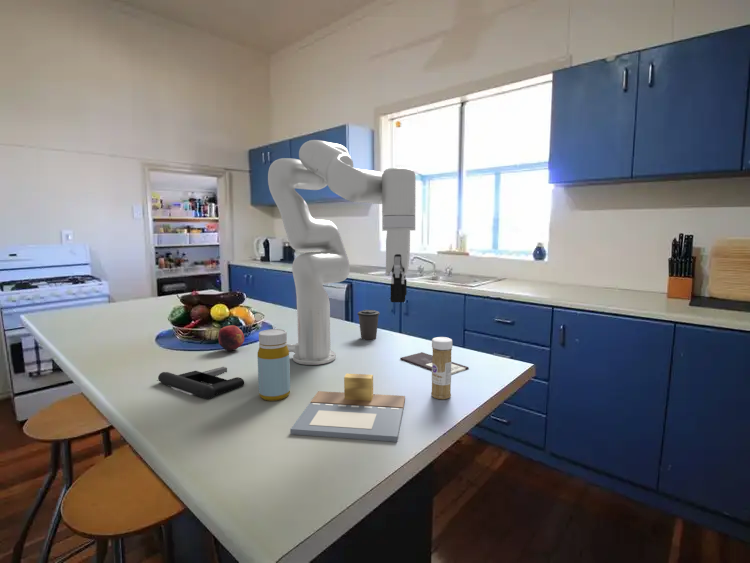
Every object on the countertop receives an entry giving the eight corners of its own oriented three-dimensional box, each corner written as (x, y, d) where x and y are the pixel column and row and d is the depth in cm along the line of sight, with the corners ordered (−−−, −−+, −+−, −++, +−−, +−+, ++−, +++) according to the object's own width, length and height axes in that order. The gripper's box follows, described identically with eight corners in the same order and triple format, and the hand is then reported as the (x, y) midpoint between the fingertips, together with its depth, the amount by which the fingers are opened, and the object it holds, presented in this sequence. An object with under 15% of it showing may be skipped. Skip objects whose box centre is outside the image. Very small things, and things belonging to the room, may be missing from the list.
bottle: (274, 404, 90) (272, 337, 88) (252, 397, 94) (250, 333, 92) (296, 393, 96) (294, 330, 94) (275, 387, 100) (273, 327, 98)
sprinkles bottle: (427, 396, 94) (427, 338, 93) (439, 390, 97) (440, 335, 96) (443, 401, 91) (444, 342, 89) (455, 396, 94) (456, 338, 92)
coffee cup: (362, 342, 141) (362, 313, 139) (353, 336, 148) (353, 309, 147) (383, 339, 144) (383, 311, 143) (374, 334, 151) (374, 307, 150)
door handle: (209, 360, 115) (152, 373, 101) (258, 373, 104) (202, 390, 91) (209, 371, 115) (152, 386, 102) (258, 386, 104) (202, 404, 91)
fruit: (248, 347, 135) (247, 323, 134) (238, 354, 127) (237, 329, 126) (225, 346, 136) (224, 323, 135) (214, 353, 128) (212, 328, 127)
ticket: (290, 434, 77) (290, 428, 76) (310, 407, 88) (309, 402, 88) (397, 441, 74) (397, 436, 74) (402, 412, 85) (402, 407, 85)
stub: (310, 405, 89) (309, 379, 88) (318, 394, 95) (317, 370, 94) (402, 411, 86) (403, 384, 85) (405, 399, 92) (405, 374, 91)
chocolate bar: (422, 352, 127) (468, 367, 113) (422, 355, 127) (468, 370, 113) (400, 357, 121) (446, 374, 107) (400, 360, 121) (446, 377, 107)
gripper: (385, 225, 102) (385, 293, 104) (378, 223, 85) (379, 304, 87) (415, 224, 101) (415, 293, 103) (415, 223, 84) (414, 305, 86)
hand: (399, 298), depth 95 cm, fingers open, 9 cm apart
